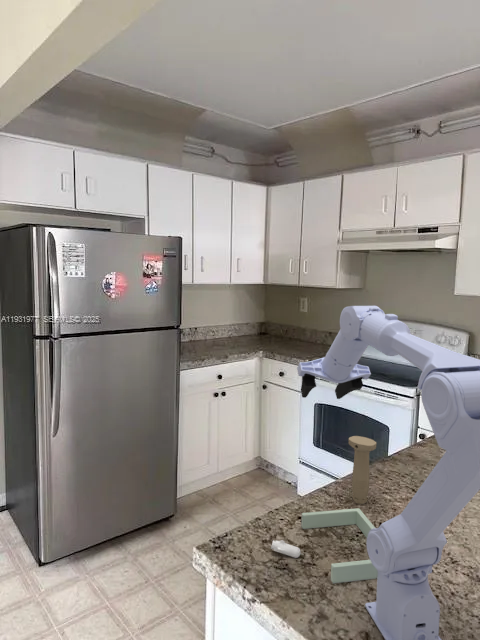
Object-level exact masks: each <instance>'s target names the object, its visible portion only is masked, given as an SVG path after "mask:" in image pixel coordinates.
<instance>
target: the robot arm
mask: <svg viewBox="0 0 480 640" xmlns="http://www.w3.org/2000/svg"><path fill="white" fill-rule="evenodd" d="M339 316H340V317H339V328H340V329H339V331H338V333H337V334H336V336H335V338H334V340H333V342H332V343H331V346H330V347H329V349H328V350H327V352H326V354H325V356H324V357H321V358H317V359H314V360H310V361H300V362H299V363H298V365H297V368H296V369H297V370H296V371H297V374H298V376H299V377H301V387H300V392H301V398H308V395H309V393H310V392H311V391H312V390H313V389H314V388H316V387H317V382H316V378H319V379H322V380H326V381H328V382H332V383H334V384H337V385H336V387H335V389H334V393H335V396H336V399H337V400H340V399H342V398H344V397H345V396H346V395H348V394H349V393H351V392H354V391H358V390H361V389H362V388H363V387H364V383H363V382H364V381H363V380H366V381H367V380H368V379H369V378H370V377H371V375H372V373H371V370H370V367H369V366H367V365H362V364H359V362H360V359H361V358H362V356H363V355H364V353H365V351H366V350H367V348H368V347H369V346H370V347H372V348H373V349H376V350H377V351H378V352H380V353H381V354H383V355H386V356H387V357H388V356H389V357H395V356H398V355H399V356H400V357H402V358H403V359H405V360H406V361H407V362H408V363H410V364H412V365H413V366H415V367H416V368H418V369H419V370H421V371H422V372H421V374H420V376H419V380H418V383H417V384H418V385H417V387H418V390H421V394H420V395H421V402H422V405H423V409H424V411H425V414H426V416H427V419H428V422H429V425H430V427H431V430H432V432H433V435H434V437H435V440H436V443H437V445H438V447H439V448H441V449H443V450H445V452H444V454H443V455H442V457H441V458H440V459H439V460H438V462H437V463H436V465H435V466H434V468H433V469H432V470H431V471H430V473H429V474H428V476H427V477H426V479H425V480H424V481H423V483H422V484H421V485H420V487H419V488H418V489H417V491H416V492H415V493H414V495H413V496H412V498H411V499H410V501H409V502H408V503H407V505H406V506H405V508H404V509H403V510H402V511H401V513H400V514H398V515H395V516H394V517H392V518H390V519H387V520H386V521H384V522H382V523H381V524H380V525H379V527H375V528H373V529H371V530H370V531H369V533H368V536H367V538H366V551H367V554H368V557H369V560H371V562H372V564H373V566H374V567H375V568H376V569H377V570H378V575H377V578H376V579H377V580H376V600H375V601H373V602H372V601H371V602H366V603H365V604H364V605H365V609H366V610H367V612H368V613H369V615H370V617H371V618H372V620H373V623H375V625H376V627H377V628H378V630H379V632H380V634H381V636H382V637H383V638H384V640H442V638H441V636H439V630H440V616H441V615H440V614H441V609H440V608H441V607H440V603H439V600H438V599H437V598H436V596H435V595H434V593H433V591H432V588H431V586H430V582H429V574H432V573H433V566H435V565H437V564H439V562H440V561H441V559H442V553H443V549H444V547H445V546H446V545H447V543H448V540H447V537H446V536H445V533H444V531H445V530H446V528H448V526H450V525H451V523H452V522H453V521H454V519H456V517H457V516H458V515H459V514H460V513H461V512H462V510H463V509H464V508H465V507H466V506H467V504H469V502H470V501H471V500H472V499H473V498H474V497H475V495H477V493H478V492H479V491H480V359H479V358H476V357H473V356H469V355H466V354H463V353H461V352H458V351H454V350H452V349H449V348H446V347H444V346H442V345H439V344H437V343H434V342H431V341H429V340H426V339H425V338H424V339H423V338H421V337H419V336H417V335H414V334H412V333H411V329H410V328H409V326H408V324H406V323H405V322H404V321H401V320H399V319H398V318H399V316H398V315H397V314H394V313H386V314H385V311H384V310H383V309H381V308H380V307H379V306H377V305H349V306H345V307H344V308H343V309H342V310H341V313H340V315H339Z"/></svg>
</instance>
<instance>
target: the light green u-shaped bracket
mask: <svg viewBox="0 0 480 640" xmlns="http://www.w3.org/2000/svg"><path fill="white" fill-rule="evenodd" d="M350 525H356V527H358V528H359V530H360V532H362V534H363V536H365V538H366V539H367V536H368V533H369V531H370V530H371V529H373V528H376V527H375V525H374V524H373V523H372V522H371V520H370V519H369V517H367V516H366V515H365V514H364V513H363V511H362V510H361V509H360V508H359V507H358V508H349V509H348V508H347V509H344V508H343V509H336V510H335V509H334V510H322V511H311V512H301V526H300V527H301V528H302V529H303V530H307V529H315V528H316V529H318V528H327V527H328V528H330V527H340V526H350ZM330 566H331V567H330V581H331V583H332V584H340V583H341V584H342V583H348V582H357V581H366V580H367V581H368V580H375V579H377V575H378V570H377V569H376V568H375V567H374V566H373V564H372V562H371V560H370V559H365V560H363V559H362V560H356V561H354V560H353V561H343V562H336V563H331V565H330Z"/></svg>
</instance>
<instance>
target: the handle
mask: <svg viewBox="0 0 480 640" xmlns="http://www.w3.org/2000/svg"><path fill="white" fill-rule="evenodd" d="M348 445H349V446H350V447H351V448H353V451H354V455H353V456H354V457H353V466H352V473H351V475H352V476H351V478H352V479H351V487H352V488H351V491H352V501H354V503H355V504H360V505H365V504H367V502H368V495H369V490H370V453H371V452H373V451H374V450H376V449H377V441H375V440H374V439H372V438H369V437H365V436H359V435H353V436H350V437H348Z"/></svg>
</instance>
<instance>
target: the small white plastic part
mask: <svg viewBox="0 0 480 640" xmlns="http://www.w3.org/2000/svg"><path fill="white" fill-rule="evenodd" d="M270 549H271V550H273V551H274V552H277V553H280V554H283V555H286V556H289V557H292V558H295V559H297V558H299V557H300V555H303V556H304V554H303V553H301V549H300V547H298V546H295V545H292V544H289V543H286V542H285V540H284V539H282V540H281V539H280V540H274V539H273V540H272V543H271V547H270Z"/></svg>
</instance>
